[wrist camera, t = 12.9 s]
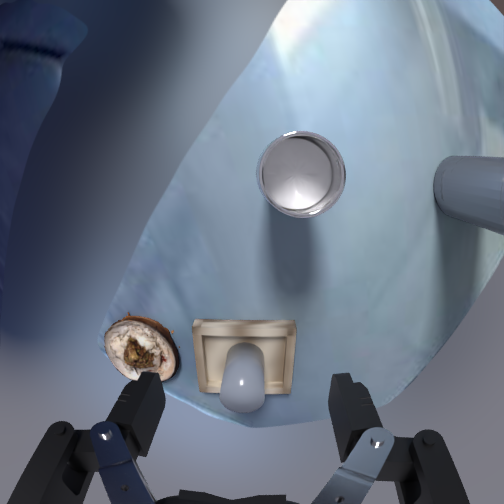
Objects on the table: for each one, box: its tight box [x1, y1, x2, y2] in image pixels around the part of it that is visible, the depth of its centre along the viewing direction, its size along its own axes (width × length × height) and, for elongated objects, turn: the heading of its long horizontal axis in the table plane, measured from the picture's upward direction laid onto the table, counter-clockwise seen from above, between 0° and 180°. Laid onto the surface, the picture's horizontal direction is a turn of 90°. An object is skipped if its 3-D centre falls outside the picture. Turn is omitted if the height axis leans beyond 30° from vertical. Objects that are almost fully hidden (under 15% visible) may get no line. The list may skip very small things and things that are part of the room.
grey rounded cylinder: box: [219, 342, 265, 413], centre depth 37 cm, size 6×6×9 cm
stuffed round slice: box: [104, 313, 180, 382], centre depth 41 cm, size 15×15×4 cm
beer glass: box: [256, 131, 346, 218], centre depth 28 cm, size 7×7×15 cm
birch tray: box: [192, 319, 297, 394], centre depth 42 cm, size 14×12×2 cm
